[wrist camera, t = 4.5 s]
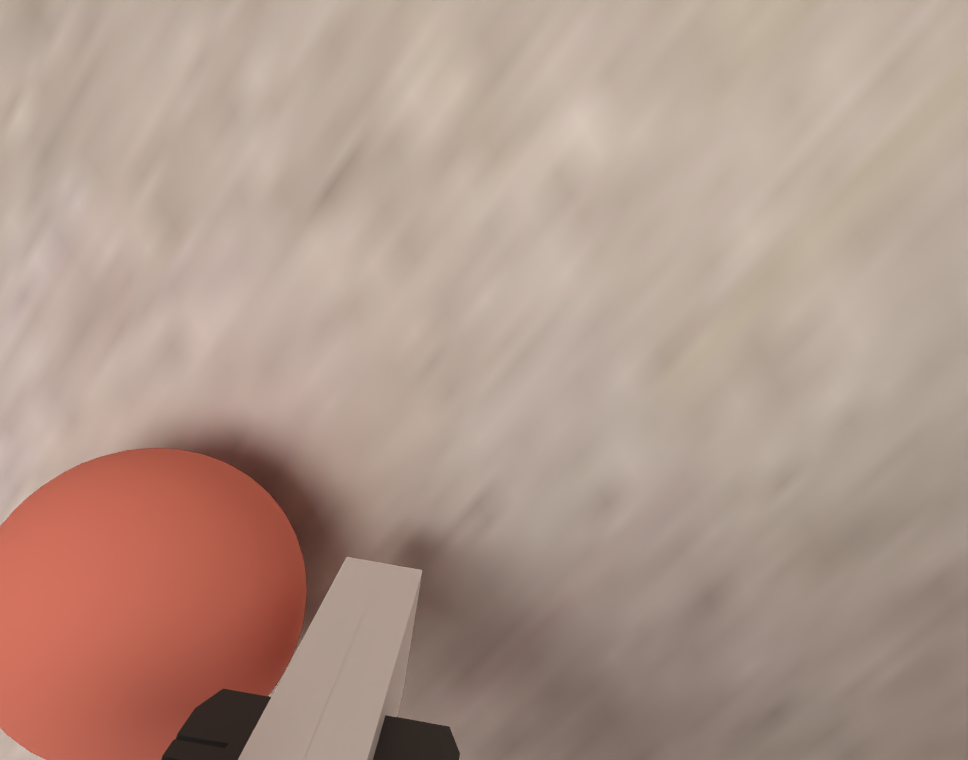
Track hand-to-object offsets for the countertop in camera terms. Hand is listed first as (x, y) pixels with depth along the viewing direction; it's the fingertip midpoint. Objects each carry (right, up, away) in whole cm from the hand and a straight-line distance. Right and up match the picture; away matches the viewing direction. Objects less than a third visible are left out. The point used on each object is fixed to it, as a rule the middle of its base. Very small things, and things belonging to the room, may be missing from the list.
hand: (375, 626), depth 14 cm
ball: (-4, 0, 0) cm, 5 cm away
